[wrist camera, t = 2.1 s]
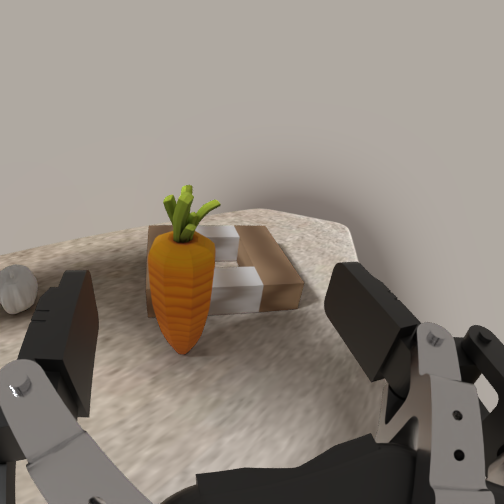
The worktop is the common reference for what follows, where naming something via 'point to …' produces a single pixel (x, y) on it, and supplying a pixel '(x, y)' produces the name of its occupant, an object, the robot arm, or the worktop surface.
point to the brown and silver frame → (243, 271)
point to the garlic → (17, 288)
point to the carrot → (182, 273)
